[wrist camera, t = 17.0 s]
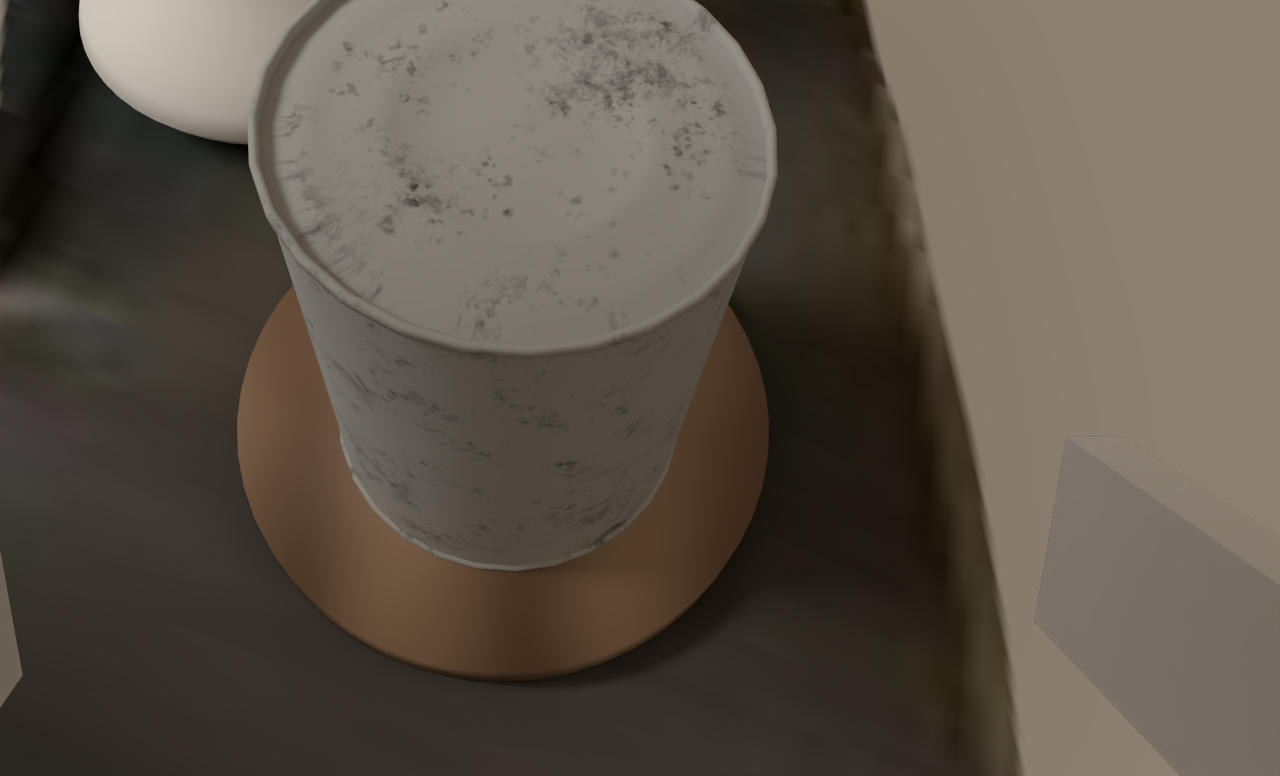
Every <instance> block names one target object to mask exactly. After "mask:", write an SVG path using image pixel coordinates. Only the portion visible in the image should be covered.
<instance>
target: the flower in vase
mask: <svg viewBox="0 0 1280 776" xmlns="http://www.w3.org/2000/svg"><path fill="white" fill-rule="evenodd" d="M311 1H312V0H80V7H79V24H80V34H81V38H82V41H83V45H84V48H85V51H86V53H87V56H88V58H89V60H90V62H91V64H92V66H93V67H94V69H95V70H96V72H97V73H98V74H99V76H100V77H101V78H102V80H103V81H104V83H105V84H106V85H107V86H108V87H109V88H110V89H111V90H112V91H113V92H114V93H115V94H116V95H117V96H118V97H120V98H121V99H122V100H124V101H125V102H126V103H128V104H129V105H130V106H132V107H133V108H134V109H136V110H137V111H139V112H141V113H143V114H145V115H146V116H148V117H150V118H152V119H154V120H155V121H158V122H160V123H163V124H165V125H168V126H170V127H173V128H175V129H177V130H180V131H183V132H186V133H188V134H192V135H195V136H199V137H203V138H206V139H210V140H215V141H221V142H227V143H233V144H248V121H247V116H248V113H249V109H250V105H251V101H252V98H253V94H254V90H255V86H256V83H257V79H258V75H259V71H260V68H261V67H262V65H263V63H264V62H265V60H266V58H267V57H268V55H269V53H270V52H271V50H272V48H273V46H274V45H275V43H276V41H277V40H278V38H279V36H280V35H281V33H282V31H283V30H284V28H285V27H286V26H287V25H288V24H289V23H290V22H291V21H292V20H293V19H294V18H295V17H296V16H297V15H298V14H299V13H300V12H301V11H302V10H303V9H304V8H305V7H306V6H307V5H308V4H309V3H310V2H311Z"/></svg>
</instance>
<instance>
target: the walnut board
mask: <svg viewBox="0 0 1280 776" xmlns="http://www.w3.org/2000/svg"><path fill="white" fill-rule="evenodd" d="M237 435H238V457H239V463H240V468H241V474H242V480H243V485H244V489H245V492H246V495H247V498H248V501H249V504H250V507H251V509H252V512H253V515H254V518H255V520H256V522H257V524H258V526H259V528H260V530H261V532H262V534H263V536H264V538H265V540H266V542H267V544H268V545H269V547H270V549H271V551H272V553H273V554H274V556H275V557H276V559H277V561H278V562H279V564H280V565H281V567H282V568H283V569H284V571H285V572H286V573H287V575H288V576H289V578H290V579H291V580H292V582H293V583H294V584H295V586H296V587H297V589H298V590H299V591H300V592H301V593H302V594H303V595H304V596H305V597H306V598H307V599H308V600H309V601H310V603H311V604H312V605H313V606H314V607H315V608H316V609H317V610H318V611H319V612H320V613H321V614H322V615H323V616H324V617H326V618H327V619H328V620H330V621H331V622H332V623H333V624H335V625H336V626H337V627H339V628H340V629H341V630H343V631H344V632H345V633H347V634H348V635H349V636H350V637H352V638H353V639H355V640H357V641H359V642H360V643H362V644H364V645H366V646H368V647H369V648H371V649H373V650H375V651H377V652H378V653H380V654H382V655H384V656H386V657H388V658H391V659H394V660H396V661H399V662H401V663H404V664H406V665H409V666H411V667H414V668H417V669H419V670H423V671H428V672H432V673H436V674H440V675H444V676H448V677H452V678H458V679H468V680H478V681H487V682H511V681H532V680H539V679H545V678H551V677H557V676H563V675H568V674H571V673H574V672H578V671H581V670H584V669H588V668H591V667H594V666H598V665H601V664H603V663H605V662H608V661H610V660H612V659H614V658H616V657H619V656H621V655H623V654H625V653H627V652H629V651H632V650H634V649H635V648H637V647H639V646H640V645H642V644H643V643H645V642H647V641H648V640H650V639H651V638H653V637H655V636H656V635H658V634H659V633H661V632H662V631H664V630H665V629H666V628H668V627H669V626H670V625H671V624H672V623H673V622H675V621H676V620H677V619H678V618H679V617H681V616H682V615H683V614H684V613H685V612H687V611H688V610H689V609H690V608H691V607H692V606H693V605H694V604H695V603H696V601H697V600H698V599H699V598H700V597H701V596H702V595H703V594H704V593H705V591H706V590H707V589H708V588H709V587H710V586H711V585H712V584H713V582H714V581H715V579H716V578H717V576H718V575H719V573H720V572H721V570H722V569H723V567H724V566H725V564H726V563H727V561H728V560H729V558H730V557H731V556H732V554H733V553H734V551H735V550H736V548H737V547H738V545H739V543H740V541H741V539H742V537H743V535H744V533H745V531H746V529H747V527H748V525H749V523H750V521H751V519H752V517H753V515H754V511H755V508H756V505H757V502H758V499H759V496H760V493H761V490H762V486H763V483H764V477H765V471H766V465H767V459H768V449H769V417H768V409H767V400H766V392H765V388H764V384H763V380H762V377H761V373H760V369H759V365H758V362H757V360H756V357H755V355H754V352H753V350H752V347H751V345H750V342H749V340H748V338H747V335H746V334H745V332H744V330H743V328H742V327H741V325H740V323H739V321H738V319H737V318H736V316H735V314H734V312H733V311H732V309H731V308H730V307H729V305H727V308H726V311H725V313H724V316H723V319H722V321H721V324H720V326H719V329H718V332H717V334H716V337H715V339H714V342H713V345H712V347H711V350H710V353H709V355H708V358H707V360H706V363H705V366H704V368H703V371H702V374H701V376H700V379H699V381H698V384H697V387H696V389H695V392H694V394H693V397H692V400H691V402H690V405H689V408H688V410H687V413H686V415H685V418H684V421H683V423H682V426H681V429H680V431H679V434H678V436H677V440H676V444H675V447H674V451H673V455H672V458H671V462H670V465H669V469H668V472H667V474H666V476H665V478H664V479H663V481H662V483H661V485H660V486H659V488H658V490H657V492H656V493H655V495H654V497H653V499H652V500H651V502H650V504H649V505H648V506H647V507H646V508H645V509H644V510H643V511H642V512H641V513H640V514H639V516H638V517H637V518H636V519H635V520H634V521H633V522H632V523H631V524H630V525H629V526H628V527H627V528H626V529H625V530H624V531H623V532H621V533H620V534H618V535H617V536H615V537H614V538H612V539H611V540H609V541H608V542H606V543H605V544H603V545H602V546H600V547H599V548H597V549H596V550H594V551H593V552H590V553H588V554H585V555H582V556H580V557H577V558H575V559H572V560H569V561H567V562H564V563H561V564H559V565H556V566H550V567H543V568H536V569H529V570H522V571H516V572H515V571H502V570H488V569H475V568H471V567H468V566H465V565H461V564H458V563H455V562H451V561H448V560H445V559H441V558H438V557H435V556H434V555H432V554H430V553H428V552H427V551H425V550H423V549H421V548H420V547H418V546H416V545H414V544H412V543H411V542H409V541H407V540H405V539H404V538H402V537H401V536H400V535H399V534H397V533H396V532H395V531H394V530H393V529H392V528H391V527H390V526H389V525H388V524H387V523H386V522H385V521H384V520H382V519H381V518H380V517H379V516H378V515H377V514H376V513H375V512H374V511H373V510H372V508H371V507H370V505H369V504H368V502H367V501H366V499H365V497H364V496H363V494H362V493H361V491H360V490H359V488H358V487H357V485H356V484H355V482H354V481H353V478H352V475H351V472H350V469H349V466H348V464H347V461H346V458H345V455H344V452H343V449H342V446H341V440H340V428H339V425H338V422H337V419H336V415H335V412H334V409H333V406H332V403H331V400H330V397H329V394H328V391H327V387H326V384H325V381H324V378H323V375H322V372H321V369H320V366H319V363H318V360H317V356H316V353H315V350H314V347H313V344H312V341H311V338H310V335H309V332H308V329H307V325H306V322H305V319H304V316H303V313H302V310H301V307H300V304H299V301H298V297H297V294H296V291H295V288H294V285H293V286H292V287H291V288H290V290H289V291H288V292H287V293H286V294H285V296H284V297H283V298H282V299H281V301H280V302H279V303H278V305H277V307H276V308H275V310H274V311H273V313H272V315H271V316H270V318H269V320H268V321H267V323H266V324H265V326H264V328H263V329H262V332H261V334H260V336H259V339H258V341H257V343H256V345H255V348H254V350H253V352H252V354H251V357H250V359H249V363H248V367H247V370H246V374H245V377H244V381H243V384H242V388H241V395H240V403H239V411H238V418H237Z"/></svg>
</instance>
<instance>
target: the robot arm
mask: <svg viewBox="0 0 1280 776" xmlns="http://www.w3.org/2000/svg"><path fill="white" fill-rule="evenodd" d="M1034 621H1035V622H1036V623H1037V624H1038V625H1039V626H1040V628H1041V629H1042V630H1043V631H1044V632H1045V633H1046V634H1047V635H1048V636H1049V637H1050V638H1051V639H1052V640H1053V641H1054V642H1055V644H1057V646H1058V647H1059V648H1060V649H1061V650H1062V651H1063V652H1064V653H1065V654H1066V655H1067V656H1068V657H1069V658H1070V659H1071V660H1072V661H1073V663H1074V664H1075V665H1076V666H1077V667H1078V668H1079V669H1080V670H1081V671H1082V672H1083V673H1084V674H1085V675H1086V676H1087V677H1088V678H1089V679H1090V681H1091V682H1092V683H1093V684H1094V685H1095V686H1096V687H1097V688H1098V689H1099V690H1100V691H1101V692H1102V693H1103V694H1104V695H1105V696H1106V697H1107V699H1108V700H1109V701H1110V702H1111V703H1112V704H1113V705H1114V706H1115V707H1116V708H1117V709H1118V710H1119V711H1120V712H1121V713H1122V715H1123V716H1124V717H1125V718H1126V719H1127V720H1128V721H1129V722H1130V723H1131V724H1132V725H1133V726H1134V727H1135V728H1136V729H1137V730H1138V732H1139V733H1140V734H1141V735H1142V736H1143V737H1144V738H1145V739H1146V740H1147V741H1148V742H1149V743H1150V744H1151V745H1152V746H1153V747H1154V748H1155V750H1156V751H1157V752H1158V753H1159V754H1160V755H1161V756H1162V757H1163V758H1164V759H1165V760H1166V761H1167V762H1168V763H1169V764H1170V765H1171V766H1172V768H1173V769H1174V770H1175V771H1176V772H1177V773H1178V774H1179V775H1180V776H1280V537H1279V536H1277V535H1276V534H1274V533H1273V532H1271V531H1270V530H1268V529H1267V528H1265V527H1263V526H1262V525H1260V524H1259V523H1257V522H1255V521H1254V520H1252V519H1251V518H1249V517H1247V516H1246V515H1244V514H1243V513H1241V512H1240V511H1238V510H1237V509H1235V508H1233V507H1232V506H1230V505H1228V504H1227V503H1225V502H1224V501H1222V500H1221V499H1219V498H1217V497H1216V496H1214V495H1213V494H1211V493H1209V492H1208V491H1206V490H1205V489H1203V488H1202V487H1200V486H1199V485H1197V484H1195V483H1194V482H1192V481H1191V480H1189V479H1188V478H1186V477H1184V476H1183V475H1181V474H1180V473H1178V472H1177V471H1175V470H1173V469H1172V468H1170V467H1169V466H1167V465H1165V464H1164V463H1162V462H1161V461H1159V460H1158V459H1156V458H1154V457H1153V456H1151V455H1150V454H1148V453H1146V452H1145V451H1143V450H1142V449H1140V448H1139V447H1137V446H1135V445H1134V444H1132V443H1131V442H1129V441H1127V440H1126V439H1124V438H1123V437H1121V436H1094V437H1066V443H1065V448H1064V454H1063V460H1062V465H1061V471H1060V477H1059V483H1058V488H1057V494H1056V500H1055V505H1054V511H1053V517H1052V523H1051V528H1050V535H1049V540H1048V546H1047V552H1046V558H1045V563H1044V569H1043V574H1042V581H1041V586H1040V591H1039V598H1038V603H1037V609H1036V614H1035V620H1034ZM22 676H23V675H22V669H21V664H20V658H19V653H18V647H17V642H16V636H15V631H14V625H13V620H12V614H11V608H10V603H9V597H8V592H7V586H6V581H5V575H4V570H3V564H2V559H1V553H0V707H1V706H2V704H3V703H4V701H5V700H6V699H7V697H8V696H9V694H10V693H11V691H12V690H13V688H14V687H15V686H16V684H17V683H18V681H19V680H20V678H21V677H22Z"/></svg>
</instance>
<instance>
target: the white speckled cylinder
mask: <svg viewBox="0 0 1280 776" xmlns="http://www.w3.org/2000/svg"><path fill="white" fill-rule="evenodd" d="M247 121H248V150H249V167H250V170H251V173H252V176H253V179H254V182H255V185H256V188H257V191H258V194H259V197H260V200H261V203H262V206H263V209H264V212H265V214H266V217H267V220H268V222H269V223H270V224H271V226H272V227H273V229H274V230H275V232H276V233H277V235H278V239H279V242H280V245H281V248H282V251H283V254H284V257H285V260H286V263H287V266H288V270H289V273H290V276H291V279H292V282H293V285H294V288H295V291H296V294H297V297H298V301H299V304H300V307H301V310H302V313H303V316H304V319H305V322H306V325H307V329H308V332H309V335H310V338H311V341H312V344H313V347H314V350H315V353H316V356H317V360H318V363H319V366H320V369H321V372H322V375H323V378H324V381H325V384H326V387H327V391H328V394H329V397H330V400H331V403H332V406H333V409H334V412H335V415H336V419H337V422H338V425H339V428H340V440H341V446H342V449H343V452H344V455H345V458H346V461H347V464H348V466H349V469H350V472H351V475H352V478H353V481H354V482H355V484H356V485H357V487H358V488H359V490H360V491H361V493H362V494H363V496H364V497H365V499H366V501H367V502H368V504H369V505H370V507H371V508H372V510H373V511H374V512H375V513H376V514H377V515H378V516H379V517H380V518H381V519H382V520H384V521H385V522H386V523H387V524H388V525H389V526H390V527H391V528H392V529H393V530H394V531H395V532H396V533H397V534H399V535H400V536H401V537H402V538H404V539H405V540H407V541H409V542H411V543H412V544H414V545H416V546H418V547H420V548H421V549H423V550H425V551H427V552H428V553H430V554H432V555H434V556H435V557H438V558H441V559H445V560H448V561H451V562H455V563H458V564H461V565H465V566H468V567H471V568H475V569H488V570H502V571H515V572H516V571H522V570H529V569H536V568H543V567H550V566H556V565H559V564H561V563H564V562H567V561H569V560H572V559H575V558H577V557H580V556H582V555H585V554H588V553H590V552H593V551H594V550H596V549H597V548H599V547H600V546H602V545H603V544H605V543H606V542H608V541H609V540H611V539H612V538H614V537H615V536H617V535H618V534H620V533H621V532H623V531H624V530H625V529H626V528H627V527H628V526H629V525H630V524H631V523H632V522H633V521H634V520H635V519H636V518H637V517H638V516H639V514H640V513H641V512H642V511H643V510H644V509H645V508H646V507H647V506H648V505H649V504H650V502H651V500H652V499H653V497H654V495H655V493H656V492H657V490H658V488H659V486H660V485H661V483H662V481H663V479H664V478H665V476H666V474H667V472H668V469H669V465H670V462H671V458H672V455H673V451H674V447H675V444H676V440H677V436H678V434H679V431H680V429H681V426H682V423H683V421H684V418H685V415H686V413H687V410H688V408H689V405H690V402H691V400H692V397H693V394H694V392H695V389H696V387H697V384H698V381H699V379H700V376H701V374H702V371H703V368H704V366H705V363H706V360H707V358H708V355H709V353H710V350H711V347H712V345H713V342H714V339H715V337H716V334H717V332H718V329H719V326H720V324H721V321H722V319H723V316H724V313H725V311H726V308H727V305H728V303H729V300H730V298H731V295H732V292H733V290H734V287H735V284H736V282H737V279H738V277H739V274H740V271H741V269H742V266H743V264H744V261H745V258H746V256H747V253H748V251H749V249H750V248H751V246H752V244H753V243H754V241H755V239H756V237H757V236H758V234H759V232H760V231H761V229H762V227H763V226H764V223H765V221H766V217H767V213H768V209H769V206H770V202H771V198H772V194H773V190H774V187H775V183H776V179H777V136H776V126H775V123H774V120H773V116H772V113H771V110H770V106H769V103H768V100H767V96H766V93H765V90H764V86H763V84H762V82H761V80H760V78H759V77H758V75H757V73H756V72H755V70H754V68H753V67H752V65H751V63H750V62H749V60H748V58H747V57H746V55H745V53H744V52H743V50H742V48H741V46H740V45H739V43H738V42H737V41H736V40H735V39H734V38H733V37H732V36H731V35H730V34H729V33H728V32H727V31H726V29H725V28H724V27H723V26H722V25H721V24H720V23H719V22H718V21H717V20H716V19H715V18H714V17H713V16H712V15H711V13H710V12H709V11H708V10H707V9H706V8H704V7H703V6H702V5H700V4H699V3H697V2H696V1H695V0H312V1H311V2H310V3H309V4H308V5H307V6H306V7H305V8H304V9H303V10H302V11H301V12H300V13H299V14H298V15H297V16H296V17H295V18H294V19H293V20H292V21H291V22H290V23H289V24H288V25H287V26H286V27H285V28H284V30H283V31H282V33H281V35H280V36H279V38H278V40H277V41H276V43H275V45H274V46H273V48H272V50H271V52H270V53H269V55H268V57H267V58H266V60H265V62H264V63H263V65H262V67H261V68H260V71H259V75H258V79H257V83H256V86H255V90H254V94H253V98H252V101H251V105H250V109H249V113H248V116H247Z"/></svg>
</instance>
